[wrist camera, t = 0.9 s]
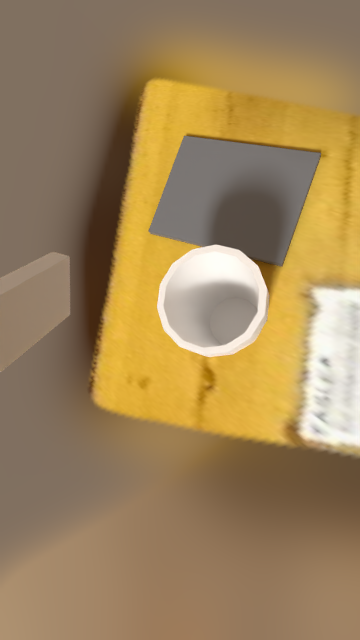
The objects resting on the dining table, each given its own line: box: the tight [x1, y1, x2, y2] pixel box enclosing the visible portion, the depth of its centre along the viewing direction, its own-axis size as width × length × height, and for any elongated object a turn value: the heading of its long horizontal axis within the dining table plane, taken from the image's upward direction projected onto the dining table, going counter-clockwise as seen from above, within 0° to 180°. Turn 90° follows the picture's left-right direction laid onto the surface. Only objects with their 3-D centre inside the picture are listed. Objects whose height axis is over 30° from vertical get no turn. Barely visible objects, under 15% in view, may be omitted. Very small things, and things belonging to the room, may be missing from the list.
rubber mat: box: [149, 136, 321, 266], centre depth 43 cm, size 18×14×1 cm
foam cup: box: [157, 245, 269, 357], centre depth 35 cm, size 10×9×13 cm
